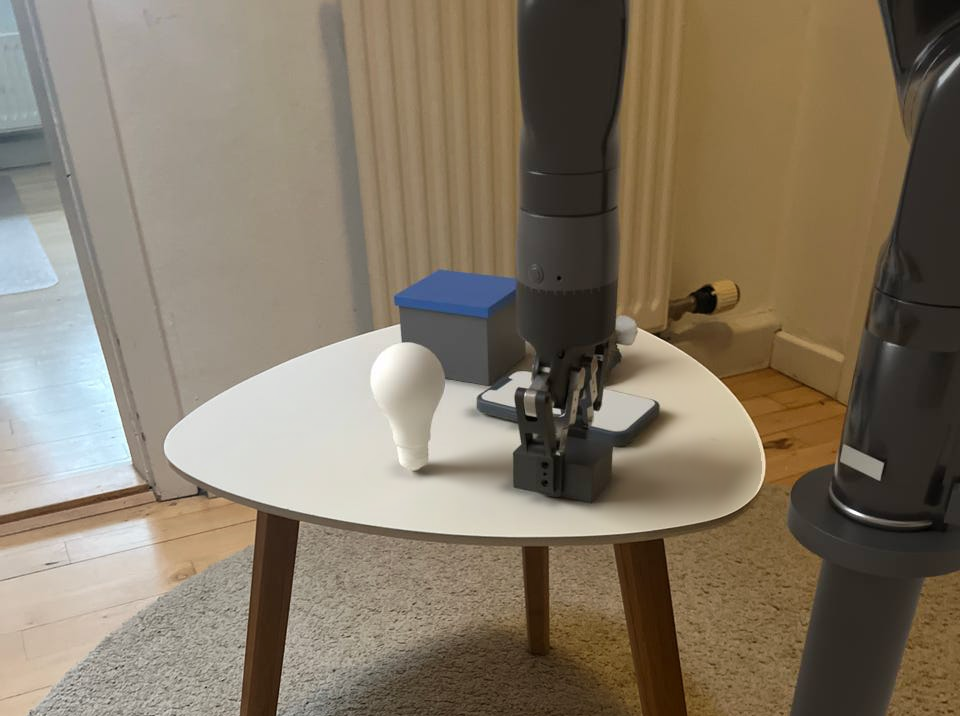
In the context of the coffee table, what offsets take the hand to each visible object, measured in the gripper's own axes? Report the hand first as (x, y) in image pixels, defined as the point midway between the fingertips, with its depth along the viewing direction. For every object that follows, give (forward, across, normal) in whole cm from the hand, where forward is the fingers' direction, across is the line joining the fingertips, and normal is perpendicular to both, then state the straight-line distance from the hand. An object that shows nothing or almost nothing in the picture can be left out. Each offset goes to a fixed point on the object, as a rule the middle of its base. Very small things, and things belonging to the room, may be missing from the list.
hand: (562, 479), depth 82 cm
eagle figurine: (+1, +24, +7) cm, 25 cm away
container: (0, +21, +20) cm, 29 cm away
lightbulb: (+1, -3, +13) cm, 13 cm away
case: (0, 0, 0) cm, 0 cm away
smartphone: (+1, +13, +5) cm, 14 cm away
